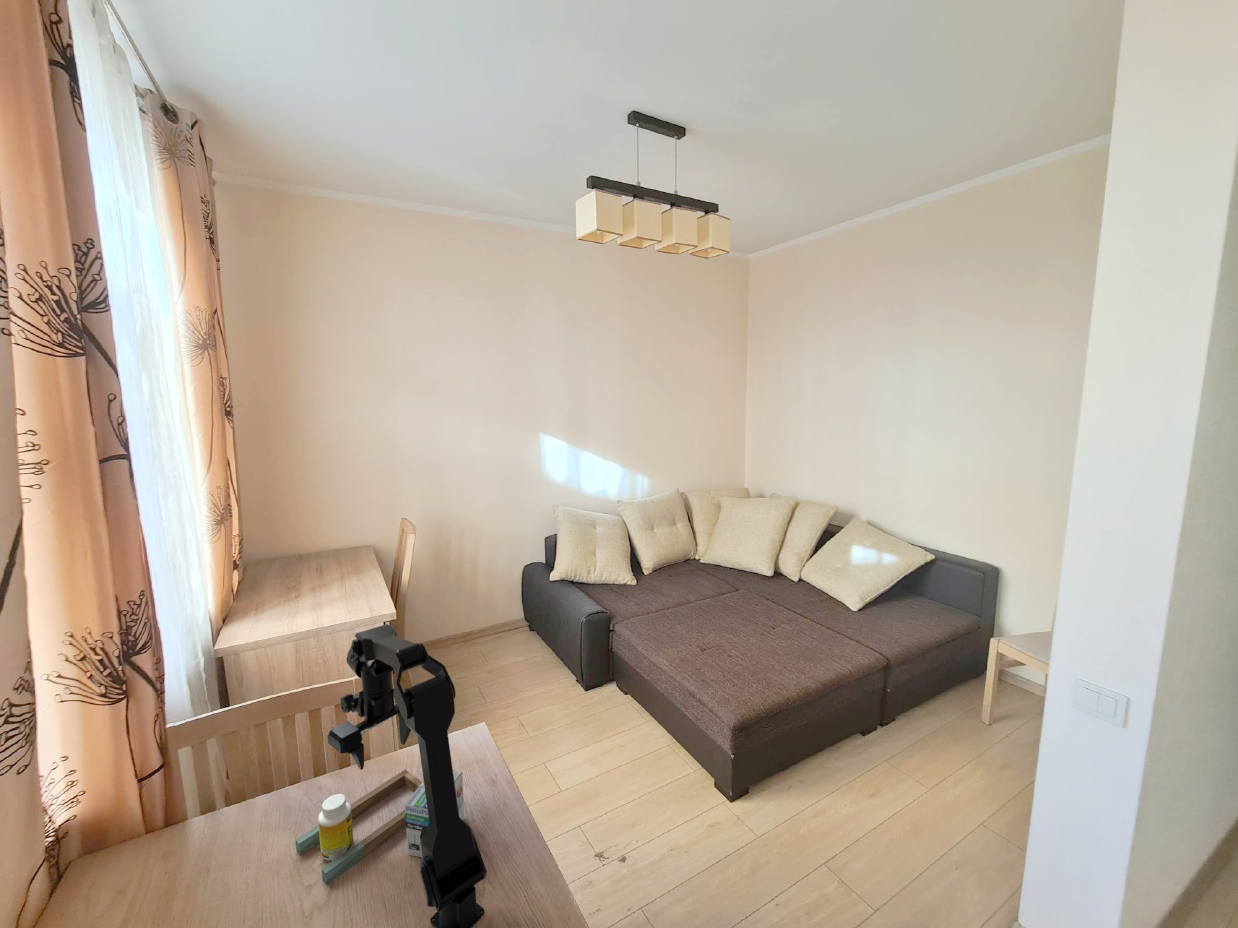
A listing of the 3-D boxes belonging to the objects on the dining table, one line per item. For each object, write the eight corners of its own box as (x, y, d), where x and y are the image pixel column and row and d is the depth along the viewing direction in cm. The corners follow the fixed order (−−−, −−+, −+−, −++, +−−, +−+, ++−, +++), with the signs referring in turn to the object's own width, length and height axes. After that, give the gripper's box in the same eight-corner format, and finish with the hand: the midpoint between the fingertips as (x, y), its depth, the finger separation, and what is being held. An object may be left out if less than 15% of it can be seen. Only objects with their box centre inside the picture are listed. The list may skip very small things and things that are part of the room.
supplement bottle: (354, 854, 99) (350, 806, 97) (321, 866, 96) (316, 817, 95) (353, 832, 104) (349, 786, 102) (321, 844, 101) (317, 797, 100)
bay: (437, 803, 111) (437, 792, 111) (326, 885, 93) (325, 872, 92) (405, 779, 118) (405, 769, 118) (296, 851, 99) (295, 839, 99)
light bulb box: (438, 862, 97) (435, 810, 96) (406, 855, 98) (402, 805, 97) (465, 816, 108) (463, 769, 106) (436, 811, 109) (433, 765, 107)
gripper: (397, 656, 118) (401, 719, 121) (311, 694, 103) (317, 765, 106) (426, 671, 112) (430, 737, 114) (339, 714, 97) (345, 789, 99)
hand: (382, 755), depth 108 cm, fingers open, 9 cm apart
